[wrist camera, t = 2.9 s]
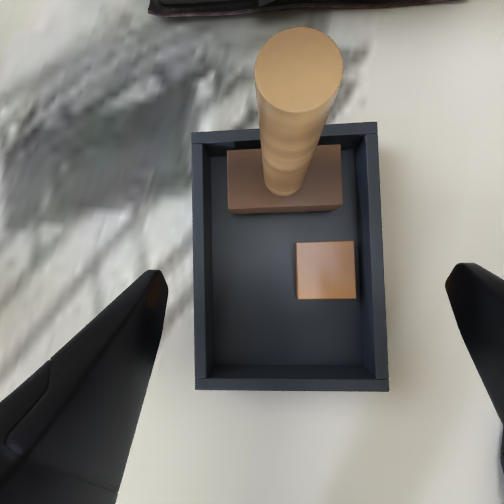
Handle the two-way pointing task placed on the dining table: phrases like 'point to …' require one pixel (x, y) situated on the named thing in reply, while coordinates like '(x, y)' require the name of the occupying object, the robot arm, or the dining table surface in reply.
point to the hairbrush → (502, 451)
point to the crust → (325, 270)
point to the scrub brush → (291, 129)
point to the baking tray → (286, 278)
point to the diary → (259, 6)
